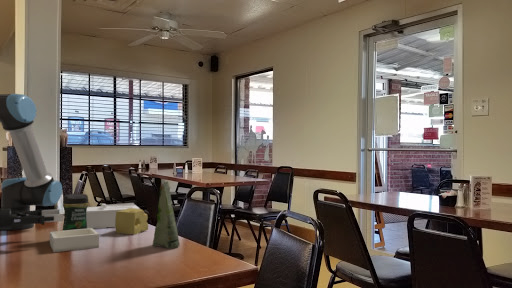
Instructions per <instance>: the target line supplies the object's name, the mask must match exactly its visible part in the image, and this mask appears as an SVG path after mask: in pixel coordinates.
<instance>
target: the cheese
mask: <svg viewBox="0 0 512 288" xmlns="http://www.w3.org/2000/svg"><path fill="white" fill-rule="evenodd" d="M148 218H149V217H148V214H147V213H145V211H144V210H143V209H141V208H140V209H135V208H128V209H125V210H121V211H117V212H116V218H115V228H114V229H115V233H116V234H120V233H124V234H123V235H131V234H135V235H138V234H140V233H144V232H143V231H145V232H147V231H146V230H149V223H148ZM137 233H138V234H137Z"/></svg>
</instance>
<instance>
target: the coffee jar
mask: <svg viewBox="0 0 512 288" xmlns="http://www.w3.org/2000/svg"><path fill="white" fill-rule="evenodd" d="M89 204H90V203H89V197H88V194H86V193H85V194H84V193H72V194H65V195H64V196H63V201H62V207H63V210H64V213H63V214H64V215H63V223H62V230H61V231H65V230H76V229H87V218H86V211H87V207H89Z"/></svg>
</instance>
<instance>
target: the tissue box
mask: <svg viewBox="0 0 512 288" xmlns="http://www.w3.org/2000/svg"><path fill="white" fill-rule="evenodd" d="M128 208H135V209H141V208H140V207H139V206H137V205H136V204H135V203H134V202H128V203H116V204H115V203H113V204H106V203H101V205H100V206H88V207H87V211H86V218H87V229H88V228H100V229H106V228H105V227H115V218H116V212H117V211H121V210H125V209H128Z"/></svg>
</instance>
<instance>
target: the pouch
mask: <svg viewBox="0 0 512 288" xmlns="http://www.w3.org/2000/svg"><path fill="white" fill-rule="evenodd" d="M170 187H171V186H170V184H169V181H168V180H166V181H164V182H163V183H162V184H161V185H160V187H159V200H158V204H157V209H158V211H157V214H156V218H157V223H156V225H155V227H154V234H153V235H154V236H153V241H152V244H151V245H152V247H163V248H167V249H173V248H177V247H179V246H180V240H179V235H178V234H179V232H178V227H177V223H176V216H175V213H174V208H173V207H174V203H173V201H172V196H171V188H170Z"/></svg>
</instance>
